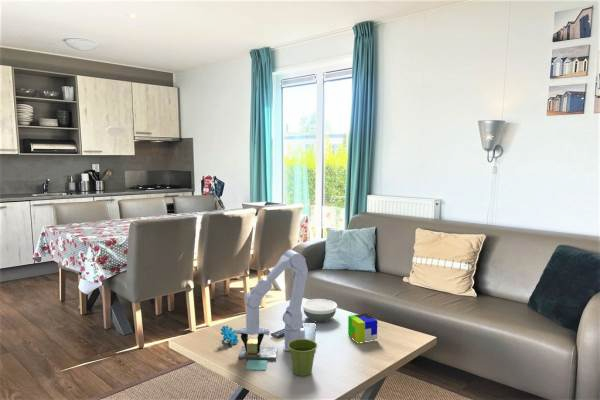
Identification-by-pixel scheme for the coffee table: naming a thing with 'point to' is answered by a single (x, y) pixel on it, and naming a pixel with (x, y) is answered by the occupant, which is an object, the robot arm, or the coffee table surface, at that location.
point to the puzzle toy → (362, 327)
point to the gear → (229, 335)
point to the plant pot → (302, 355)
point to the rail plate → (264, 354)
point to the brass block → (252, 347)
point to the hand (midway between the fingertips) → (252, 350)
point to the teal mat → (256, 365)
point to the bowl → (319, 309)
